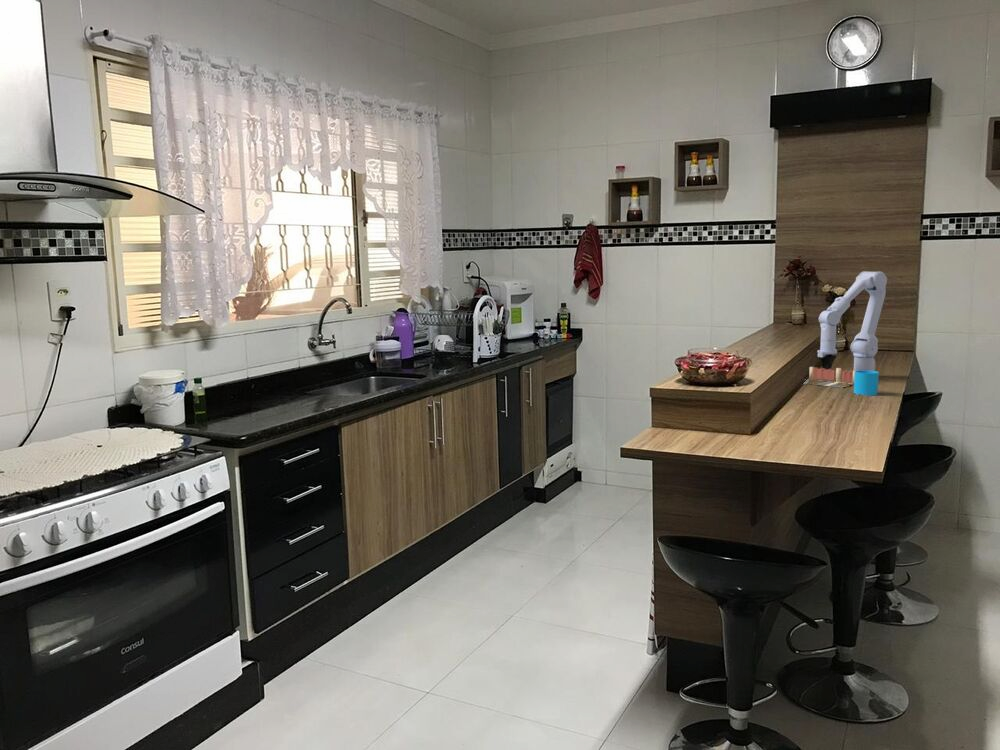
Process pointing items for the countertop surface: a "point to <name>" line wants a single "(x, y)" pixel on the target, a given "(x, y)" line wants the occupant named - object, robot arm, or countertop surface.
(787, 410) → the countertop surface
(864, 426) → the countertop surface
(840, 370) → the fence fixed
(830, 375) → the fence panel
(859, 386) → the mug
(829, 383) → the board
